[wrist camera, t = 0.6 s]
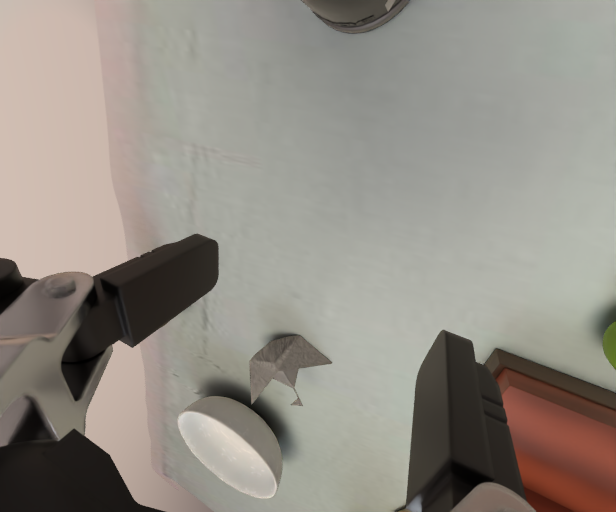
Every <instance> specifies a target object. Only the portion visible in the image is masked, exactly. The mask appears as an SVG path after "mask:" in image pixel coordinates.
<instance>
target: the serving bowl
mask: <svg viewBox="0 0 616 512" xmlns="http://www.w3.org/2000/svg"><path fill="white" fill-rule="evenodd" d="M178 427H179V430H180V433H181V435H182V437H183V439H184V441H185V442H186V444H187V445H188V447H189V448H190V449H191V451H192V452H193V453H194V454H195V456H196V457H197V458H198V459H199V460H200V461H201V462H202V463H203V464H204V465H205V466H206V467H207V468H208V469H209V470H210V471H212V472H213V473H214V474H215V475H216V476H218V477H219V478H220V479H222V480H223V481H224V482H226V483H227V484H229V485H230V486H232V487H234V488H236V489H237V490H239V491H241V492H243V493H245V494H248V495H251V496H253V497H257V498H270V497H272V496H274V495H275V494H276V492H277V489H278V486H279V483H280V479H281V474H282V454H281V449H280V446H279V443H278V441H277V439H276V437H275V435H274V433H273V432H272V430H271V429H270V427H269V426H268V425H267V424H266V422H265V421H264V420H263V419H262V418H261V417H260V416H259V415H257V414H256V413H255V412H254V411H253V410H251V409H250V408H248V407H247V406H245V405H243V404H242V403H240V402H238V401H236V400H233V399H230V398H227V397H221V396H211V397H206V398H202V399H200V400H198V401H196V402H194V403H192V404H191V405H190V406H188V407H187V408H186V409H185V410H184V411H182V412H181V413H180V415H179V417H178Z"/></svg>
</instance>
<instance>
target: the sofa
mask: <svg viewBox="0 0 616 512" xmlns="http://www.w3.org/2000/svg"><path fill="white" fill-rule="evenodd" d="M484 365H485V366H487V367H488V369H489V370H490V372H491V374H492V375H493V377H494V378H495V380H496V381H497V383H498V385H499V387H500V391H501V395H502V399H503V404H504V405H503V408H505V412H506V416H507V420H508V421H507V425H509V429H510V433H511V437H512V441H513V446H514V450H515V454H516V458H517V462H518V467H519V471H520V475H521V479H522V483H523V487H524V492H525V496H526V499H527V502H528V503H529V504H530V505H531V506H532V507H533V508H534V510H535V511H536V512H616V393H614V392H611V391H608V390H606V389H603V388H600V387H598V386H595V385H592V384H590V383H587V382H584V381H582V380H579V379H576V378H574V377H571V376H568V375H566V374H563V373H560V372H558V371H555V370H552V369H550V368H547V367H544V366H542V365H539V364H536V363H534V362H531V361H528V360H526V359H523V358H521V357H518V356H515V355H513V354H510V353H507V352H505V351H502V350H499V349H495V351H494V352H493V354H492V355H491V356H490V358H489V359H488V360H487V362H486V363H485V364H484Z"/></svg>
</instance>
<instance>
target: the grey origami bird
mask: <svg viewBox="0 0 616 512" xmlns="http://www.w3.org/2000/svg"><path fill="white" fill-rule="evenodd" d="M249 363H250V383H251V403H252V404H253V402H254V401H255V400H256V399H257V397H258V396H259V395H260V393H261V392H262V391H263V390H264V388H265V387H266V386H267V385H268V383H269V382H270V381H271V380H272V378H273V379H275V380H277V381H279V382H281V383H283V384H285V385H287V386H289V387H292V388H293V389H294V391H295V393H296V390H295V388H294V387H295V382H296V378H297V373H298V369H299V368H305V367H311V366H318V365H325V364H331V363H332V362H330V361H329V360H328V359H327V358H326V357H325V356H323V355H322V354H321V353H320V352H319V351H318V350H316V349H315V348H314V347H313V346H312V345H311V344H309V343H308V342H307V341H306V340H305V339H304V338H302V337H301V336H300V335H299V336H289V337H285V338H281V339H277V340H273V341H271V342H269V343H268V344H267V345H266V346H265V347H263V348H262V349H261V350H260V351H259V352H257V353H256V354H255V355H254V356H253V357H252V359H251V360H250V361H249ZM296 395H297V393H296ZM297 397H298V395H297ZM291 405H300V406H303V405H302V403H301V401H300V399H299V397H298V399H297V400H295V401H294V402H293V403H292V404H291Z"/></svg>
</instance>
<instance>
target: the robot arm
mask: <svg viewBox="0 0 616 512" xmlns="http://www.w3.org/2000/svg"><path fill="white" fill-rule="evenodd" d="M301 1H302V2H303V3H305V4H306V5H307V6H308V7H309V8H310V9H311V10H312V11H313V13H314V14H315V15H316V16H317V17H318V18H319V19H321V20H322V21H323V22H324V23H325V24H327V25H328V26H330V27H331V28H333V29H335V30H338V31H341V32H345V33H362V32H366V31H369V30H372V29H375V28H377V27H379V26H381V25H383V24H384V23H386V22H388V21H389V20H390V19H392V18H393V17H394V16H395V15H397V14H398V13H399V12H400V11H401V10H402V9H403V8H404V7H405V6H406V5H407V4H408V2H409V1H410V0H301ZM218 275H219V274H218V243H217V242H216V241H215V240H212V239H210V238H207V237H205V236H202V235H200V234H194V235H192V236H189V237H187V238H185V239H183V240H181V241H178V242H175V243H171V244H166V245H163V246H161V247H159V248H156V249H154V250H152V252H147V253H145V254H143V255H141V256H140V257H136V258H134V259H132V260H129V261H127V262H125V263H123V264H120V265H118V266H116V267H114V268H111V269H109V270H107V271H104V272H102V273H100V274H98V275H95V276H93V277H92V276H90V275H88V274H86V273H82V272H64V273H58V274H54V275H50V276H47V277H44V278H42V279H40V280H38V279H31V278H26V277H22V276H21V274H20V272H19V270H18V267H17V265H16V263H15V262H14V261H12V260H9V259H4V258H0V512H165V511H161V510H157V509H154V508H150V507H146V506H143V505H140V504H138V503H137V502H136V501H135V500H134V499H133V497H132V495H131V494H130V492H129V490H128V488H127V486H126V484H125V483H124V481H123V479H122V477H121V475H120V473H119V471H118V470H117V468H116V466H115V464H114V462H113V460H112V459H111V457H110V455H109V454H108V453H106V452H105V451H104V450H102V449H101V448H100V447H98V446H97V445H96V444H94V443H93V442H92V441H90V440H89V439H88V438H86V437H85V436H84V435H85V419H86V413H87V409H88V406H89V404H90V402H91V399H92V397H93V395H94V393H95V390H96V388H97V386H98V384H99V381H100V379H101V377H102V375H103V373H104V370H105V368H106V366H107V364H108V361H109V359H110V357H111V354H112V352H113V347H112V344H114V343H115V342H117V341H118V340H120V341H122V342H123V343H125V344H127V345H129V346H130V347H132V348H133V347H134V346H136V345H137V344H138V343H140V342H141V341H143V340H144V339H145V338H147V337H148V336H149V335H151V334H152V333H153V332H155V331H156V330H158V329H159V328H160V327H162V326H163V325H164V324H166V323H167V322H168V321H170V320H171V319H173V318H174V317H175V316H177V315H178V314H179V313H181V312H182V311H183V310H185V309H186V308H188V307H189V306H190V305H192V304H193V303H194V302H196V301H197V300H198V299H200V298H201V297H202V296H204V295H205V294H207V293H208V292H209V291H211V290H212V289H213V287H214V286H215V285H216V283H217V280H218ZM503 405H504V404H503V399H502V395H501V391H500V387H499V385H498V383H497V381H496V380H495V378H494V377H493V375H492V374H491V372H490V370H489V369H488V367H487V366H485V365H482V364H480V363H477V362H476V360H475V354H474V348H473V343H472V341H471V340H468V339H466V338H463V337H461V336H458V335H456V334H453V333H450V332H448V331H445V330H442V331H441V332H440V333H439V335H438V336H437V338H436V340H435V342H434V343H433V345H432V347H431V349H430V350H429V352H428V354H427V356H426V357H425V359H424V361H423V363H422V365H421V367H420V369H419V372H418V376H417V380H416V388H415V400H414V413H413V425H412V438H411V450H410V462H409V475H408V487H407V499H406V509H408V510H409V511H411V512H536V511H535V510H534V508H533V507H532V506H531V505H530V504H529V503H528V502H527V499H526V496H525V492H524V487H523V483H522V479H521V475H520V471H519V467H518V462H517V458H516V454H515V450H514V446H513V441H512V437H511V433H510V429H509V425H507V421H508V420H507V416H506V412H505V408H503Z"/></svg>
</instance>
